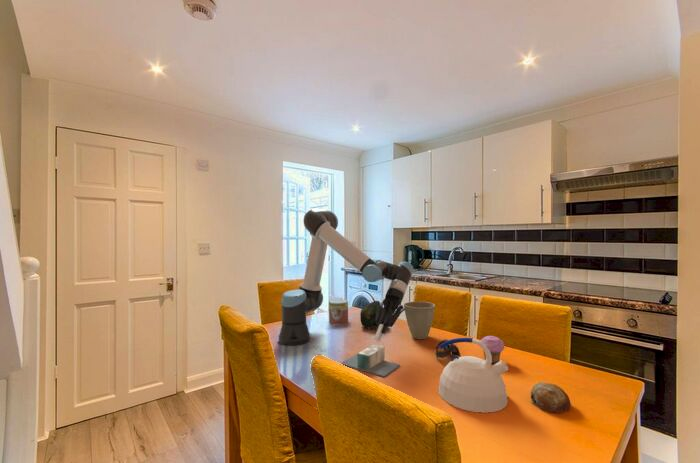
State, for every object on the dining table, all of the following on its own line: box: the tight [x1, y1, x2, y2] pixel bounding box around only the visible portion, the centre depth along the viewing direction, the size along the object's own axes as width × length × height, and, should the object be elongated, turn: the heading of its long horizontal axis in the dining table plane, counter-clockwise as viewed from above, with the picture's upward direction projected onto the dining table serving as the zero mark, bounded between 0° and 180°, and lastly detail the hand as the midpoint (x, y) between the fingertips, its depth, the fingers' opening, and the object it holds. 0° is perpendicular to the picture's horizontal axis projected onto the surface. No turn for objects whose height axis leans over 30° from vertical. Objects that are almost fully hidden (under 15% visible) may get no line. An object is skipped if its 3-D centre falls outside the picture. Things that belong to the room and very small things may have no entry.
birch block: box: [356, 344, 386, 370], centre depth 126 cm, size 5×5×12 cm
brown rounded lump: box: [530, 381, 572, 414], centre depth 95 cm, size 10×10×8 cm
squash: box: [359, 300, 384, 329], centre depth 175 cm, size 14×15×15 cm
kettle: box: [438, 337, 509, 414], centre depth 101 cm, size 20×21×18 cm
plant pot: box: [403, 301, 436, 340], centre depth 157 cm, size 15×15×16 cm
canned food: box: [328, 298, 349, 326], centre depth 186 cm, size 11×11×12 cm
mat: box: [340, 353, 401, 378], centre depth 125 cm, size 20×12×1 cm, turn 54°
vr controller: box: [434, 339, 462, 359], centre depth 131 cm, size 12×10×8 cm
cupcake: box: [479, 335, 505, 364], centre depth 126 cm, size 9×9×10 cm
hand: (377, 339), depth 129 cm, fingers closed
